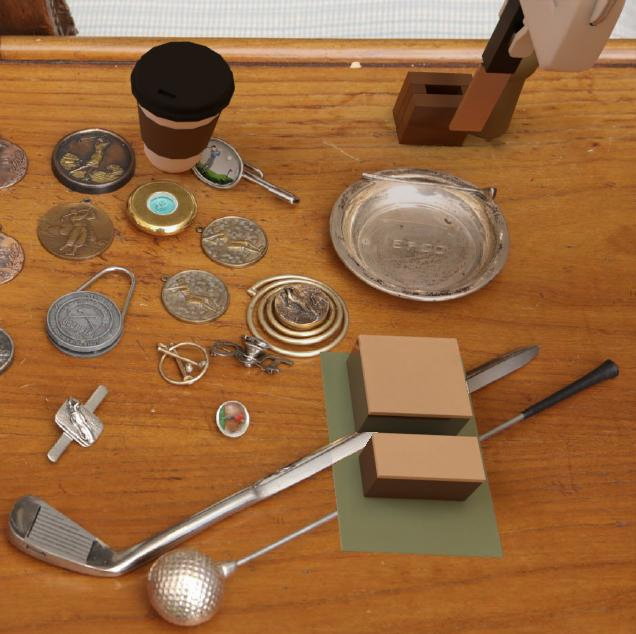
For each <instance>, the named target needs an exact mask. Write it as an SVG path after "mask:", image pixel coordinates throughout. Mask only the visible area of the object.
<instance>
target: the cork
mask: <svg viewBox="0 0 636 634" xmlns="http://www.w3.org/2000/svg"><path fill="white" fill-rule="evenodd" d="M539 67H540V65H539V63H538V59H537V56H536V53H535V49H534V50H533V52H532V54H531V55H530V56H528V57H526V58H523V59H522V60H521V62H520V64H519V66H518V68H517V70H516V72H515V74H511V76H510V78H509V80H508V82H507V84H506V86H505V87H504V89H503V91H502V93H501V95H500V97H499V99H498V101H497V102H496V104H495V106H494V108H493V110H492V112H491V114H490V115H489V117H488V119H487V121H486V123H485V125H484V127H483V129H482V130H481V132H477V131H469V132H468V134H470V135H473V136H475V137H477V138H482V139H494V138H499V137H501V136H503V135H504V134H506V133H507V131H508V129H509V127H510V125H511V121H512V119H513V117H514V113H515V111H516V107H517V105H518V102H519V100H520V96H521V93H522V90H523V88H524V85H525V83H526V80H527V79H529V78H530V77H532V75H533V74H534V73H535V72H536V71H537V69H538V68H539Z"/></svg>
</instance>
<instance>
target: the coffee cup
mask: <svg viewBox="0 0 636 634" xmlns="http://www.w3.org/2000/svg"><path fill="white" fill-rule="evenodd" d="M129 80H130V90H131V94H132V96H133V98H134V99H135V100H136V106H137V114H138V122H139V129H140V137H141V138H140V139H141V141H142V142H143V149H144V154H145V156H146V158H147V159H148V160H149V162H150V163H151V165H152V166H153V167H155V168H157V169H158V170H159V171H162V172H166V173H169V174H175V173H177V174H181V173H183V172H184V173H185V172H186V171H187V172H188V171H189V170H191V169H192V168H193V167H194V166H196V165H197V164H198V163H199V162H200V161H201V160H202V158H203V157H202V156H203V154H204V152H205V150H206V149H207V148H208V147H209V144H210V141H211V138H212V137H213V134H214V131H215V129H216V126H217V124H218V122H219V119H220V117H221V114H222V112H223V111H224V110H225V109H226V108H227V107H228V106H229V105H230V103H231V100H232V99H233V96H234V94H235V90H236V84H235V83H236V82H235V78H234V73H233V71H232V70H231V66H230V65H229V64H228V62H227V61H226V59H224V57H223V55H222V54H221V53H218V52H216V50H213V49H212V48H210V47H208V46H206V45H205V44H204V45H203V44H200V43H196V42H193V41H189V40H188V41H186V40H184V41H168V42H164V43H161V44H158V45H155V46H152V47H151V48H150V49H149V50H147V51H146V52H145V53H143V54H142V55H141V56H140V58H139V59H138V60H137V61H136V62H135V64H134V66H133V69H132V70H131V73H130V78H129ZM196 163H197V164H196Z"/></svg>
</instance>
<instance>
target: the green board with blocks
mask: <svg viewBox="0 0 636 634" xmlns="http://www.w3.org/2000/svg"><path fill="white" fill-rule="evenodd" d="M319 359H320V368H321V378H322V387H323V388H322V389H323V396H324V406H325V414H326V423H327V424H326V425H327V431H328V441H329V444H330V443H333V442H334V441H336V440H338V439H340V438H343V437H345V436H347V435H350V434H351V433H354V432H357V433H362V432H378V433H392V434H416V435H440V436H464V437H477V439H478V444H479V449H480V453H481V458H482V463H483V468H484V473H485V478H486V480H485V481H484V482H483V483H482V484H481V485H480V486H479V487H478V488H477V489H476V490H475V491H474V492H473V493H472V494H471V495H470V496H469V497H468V498H467V499H466V501H446V500H422V499H399V498H375V497H364V494H363V486H362V479H361V471H360V463H359V455H360V453H361V452H362V450H363V449H362V450H360V451H358V452H356V453H354V454H352V455H350V456H348V457H346V458H344V459H343V460H341V461H339V462H337V463H336V464H333V465H332V464H331V467H332V468H331V469H332V476H333V477H332V479H333V487H334V496H335V505H336V511H337V512H336V513H337V514H336V515H337V523H338V531H339V540H340V548H341V552H349V553H350V552H351V553H352V552H353V553H375V554H395V555H396V554H397V555H398V554H399V555H423V556H447V557H464V558H465V557H467V558H468V557H469V558H493V559H504V558H505V555H504V551H503V546H502V541H501V536H500V532H499V531H500V530H499V527H498V521H497V516H496V512H495V507H494V502H493V497H492V492H491V488H490V482H489V478H488V473H487V468H486V464H485V458H484V454H483V450H482V449H483V448H482V444H481V440H480V435H479V430H478V426H477V421H476V415H475V411H474V406H473V401H472V396H471V392H470V393H469V394H468V390H467V386H466V381H465V377H466V376H467V372H466V367H465V362H464V358H463V356H461V352H460V347H459V343H458V339H457V338H455V337H431V336H429V337H428V336H408V335H407V336H405V335H384V334H383V335H378V334H359V335H358V337H357V339H356V341H355V343H354V345H353V347H352V349H351V350H350V352H343V351H342V352H339V351H319Z"/></svg>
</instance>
